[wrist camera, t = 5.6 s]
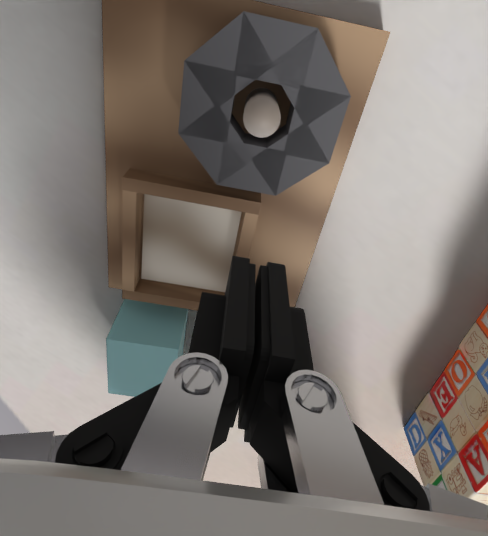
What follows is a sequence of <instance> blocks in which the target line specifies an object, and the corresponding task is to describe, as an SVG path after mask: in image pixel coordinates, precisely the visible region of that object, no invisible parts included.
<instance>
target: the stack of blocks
mask: <svg viewBox="0 0 488 536" xmlns="http://www.w3.org/2000/svg"><path fill="white" fill-rule="evenodd" d="M404 431H405V434H406V436H407V439H408V442H409V445H410V448H411V451H412V453H413V456H414V459H415V463H416V465H417V468H418V471H419V474H420V477H421V479H422V482H423V485H424V487H425V486H426V485H427V484H428V483H429V484H432V485H435V486H437V487H440V488H443V489H445V490H448V491H451V492H453V493H456V494H459V495H461V496H464V497H467V498H469V499H472V500H475V501H478V502H480V503H483V504H486V505H488V304H487V306H486V307H485V309H484V310H483V312H482V313H481V315H480V316H479V317H478V319H477V321H476V322H475V323H474V325H473V326H472V327H471V329H470V330H469V332H468V333H467V335H466V336H465V337H464V339H463V340H462V342H461V343H460V345H459V349H458V350H457V351H456V353H455V354H454V356H453V357H452V359H451V360H450V362H449V363H448V365H447V366H446V368H445V369H444V372H443V373H442V374H441V376H440V377H439V378H438V380H437V381H436V383H435V384H434V386H433V387H432V389H431V391H430V392H428V393H427V395H426V396H425V398H424V399H423V401H422V402H421V404H420V405H419V406H418V408H417V409H416V412H414V414H413V415H412V417H411V418H410V420H409V421H408V423H407V424H406V425H405V427H404Z"/></svg>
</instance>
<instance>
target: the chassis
mask: <svg viewBox="0 0 488 536" xmlns="http://www.w3.org/2000/svg"><path fill="white" fill-rule="evenodd" d="M243 11H245V12H250V13H254V14H258V15H263V16H267V17H272V18H276V19H280V20H285V21H289V22H293V23H298V24H302V25H307V26H311V27H316V28H318V29H319V31H320V33H321V35H322V37H323V39H324V41H325V43H326V46H327V48H328V50H329V52H330V54H331V56H332V58H333V60H334V62H335V64H336V66H337V68H338V70H339V72H340V75H341V77H342V79H343V81H344V83H345V85H346V87H347V89H348V91H349V93H350V95H351V98H350V101H349V104H348V107H347V110H346V113H345V116H344V119H343V123H342V126H341V129H340V132H339V135H338V138H337V141H336V144H335V147H334V150H333V153H332V157H331V160H330V163H329V164H327V165H326V166H324V167H322V168H321V169H319V170H317V171H316V172H314V173H312V174H311V175H309V176H308V177H306V178H304V179H303V180H301V181H299V182H298V183H296V184H294V185H293V186H291V187H289V188H288V189H286V190H284V191H283V192H281V193H280V194H278V195H276V196H274V195H268V194H263V193H258V192H253V191H247V190H242V189H237V188H231V187H226V186H221V185H217V184H216V183H215V182H214V180H213V179H212V178H211V176H210V175H209V174H208V172H207V171H206V170H205V168H204V167H203V166H202V164H201V163H200V162H199V160H198V159H197V158H196V156H195V155H194V154H193V152H192V151H191V150H190V148H189V147H188V146H187V144H186V143H185V142H184V140H183V139H182V138H181V136H180V135H179V134H178V129H179V117H180V106H181V94H182V82H183V70H184V60H186V59H187V58H188V57H189V56H190V55H192V54H193V53H194V52H195V51H196V50H198V49H199V48H200V47H201V46H202V45H204V44H205V43H206V42H207V41H208V40H210V39H211V38H212V37H213V36H214V35H216V34H217V33H218V32H219V31H220V30H222V29H223V28H224V27H225V26H226V25H228V24H229V23H230V22H231V21H233V20H234V19H235V18H236V17H237V16H239V15H240V14H241V13H242V12H243ZM102 27H103V70H104V112H105V154H106V196H107V238H108V280H109V287H110V288H116V289H122V299H129V300H135V301H141V302H147V303H154V304H160V305H166V306H172V307H179V308H185V309H191V310H197V311H198V308H199V303H200V298H201V294H202V292H207V293H213V294H219V295H225V291H226V286H227V281H228V276H229V271H230V266H231V261H232V257H233V256H238V257H244V258H249V259H250V263H252V264H256V273H255V283H256V279H257V275H258V271H259V268H260V265H263V266H266V265H267V262H272V263H277V264H283V265H285V268H286V277H287V286H288V295H289V304H290V307H295V305H296V302H297V299H298V296H299V293H300V290H301V287H302V285H303V282H304V279H305V276H306V273H307V270H308V267H309V264H310V262H311V259H312V256H313V253H314V250H315V247H316V244H317V241H318V239H319V236H320V233H321V230H322V227H323V224H324V221H325V218H326V216H327V213H328V210H329V207H330V204H331V201H332V198H333V195H334V193H335V190H336V187H337V184H338V181H339V178H340V175H341V172H342V170H343V167H344V164H345V161H346V158H347V155H348V152H349V149H350V147H351V144H352V141H353V138H354V135H355V132H356V129H357V126H358V124H359V121H360V118H361V115H362V112H363V109H364V106H365V103H366V101H367V98H368V95H369V92H370V89H371V86H372V83H373V80H374V78H375V75H376V72H377V69H378V66H379V63H380V60H381V57H382V55H383V52H384V49H385V46H386V43H387V40H388V37H389V34H390V32H388V31H384V30H379V29H375V28H371V27H366V26H362V25H358V24H353V23H349V22H345V21H340V20H336V19H332V18H328V17H323V16H319V15H315V14H310V13H306V12H302V11H297V10H293V9H289V8H284V7H280V6H276V5H271V4H267V3H263V2H258V1H254V0H102ZM290 104H291V101H290V100H289V98H288V96H287V94H286V93H285V91H284V89H283V87H282V85H278V84H274V83H269V82H264V81H260V80H254V81H253V82H252V83H250V84H249V85H248V86H246V87H245V88H244V89H242V90H241V91H240V92H238V93H237V94H236V95H235V98H234V104H233V110H232V114H233V116H234V117H235V119H236V120H237V122H238V123H239V125H240V126H241V128H242V129H243V131H244V132H245V133H247V134H251V135H253V136H255V137H259V138H264V137H268V136H270V135H272V134H273V133H274V132H275V131H277V130H278V129H280V128H281V127H283V126H284V125H285V124H286V121H287V117H288V112H289V108H290Z"/></svg>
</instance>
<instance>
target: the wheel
mask: <svg viewBox="0 0 488 536" xmlns="http://www.w3.org/2000/svg"><path fill="white" fill-rule="evenodd" d="M254 80H260V81H264V82H269V83H274V84H278V85H282V87H283V89H284V91H285V93H286V94H287V96H288V98H289V100H290V101H291V104H290V108H289V112H288V117H287V121H286V124H285V125H284V126H283V127H281V128H280V129H278V130H277V131H275V132H274V133H273V134H272V135H270V136H268V137H264V138H259V137H255V136H253V135H251V134H247V133H245V132H244V131H243V129H242V128H241V126H240V125H239V123H238V122H237V120H236V119H235V117H234V116H233V114H232V110H233V104H234V98H235V95H236V94H237V93H238V92H240V91H241V90H242V89H244V88H245V87H246V86H248V85H249V84H250V83H252V82H253V81H254ZM350 98H351V95H350V93H349V91H348V89H347V87H346V85H345V83H344V81H343V79H342V77H341V75H340V72H339V70H338V68H337V66H336V64H335V62H334V60H333V58H332V56H331V54H330V52H329V50H328V48H327V46H326V43H325V41H324V39H323V37H322V35H321V33H320V31H319V29H318V28H316V27H311V26H307V25H302V24H298V23H293V22H289V21H285V20H280V19H276V18H272V17H267V16H263V15H258V14H254V13H250V12H245V11H243V12H242V13H241V14H240V15H239V16H237V17H236V18H235V19H234V20H233V21H231V22H230V23H229V24H228V25H226V26H225V27H224V28H223V29H222V30H220V31H219V32H218V33H217V34H216V35H214V36H213V37H212V38H211V39H210V40H208V41H207V42H206V43H205V44H204V45H202V46H201V47H200V48H199V49H198V50H196V51H195V52H194V53H193V54H192V55H190V56H189V57H188V58H187V59H186V60H184V70H183V82H182V94H181V106H180V117H179V129H178V134H179V135H180V136H181V138H182V139H183V140H184V142H185V143H186V144H187V146H188V147H189V148H190V150H191V151H192V152H193V154H194V155H195V156H196V158H197V159H198V160H199V162H200V163H201V164H202V166H203V167H204V168H205V170H206V171H207V172H208V174H209V175H210V176H211V178H212V179H213V180H214V182H215V183H216V184H217V185H221V186H226V187H231V188H237V189H242V190H247V191H253V192H258V193H263V194H268V195H274V196H276V195H278V194H280V193H281V192H283V191H284V190H286V189H288V188H289V187H291V186H293V185H294V184H296V183H298V182H299V181H301V180H303V179H304V178H306V177H308V176H309V175H311V174H312V173H314V172H316V171H317V170H319V169H321V168H322V167H324V166H326V165H327V164H329V163H330V160H331V157H332V153H333V150H334V147H335V144H336V141H337V138H338V135H339V132H340V129H341V126H342V123H343V119H344V116H345V113H346V110H347V107H348V104H349V101H350Z"/></svg>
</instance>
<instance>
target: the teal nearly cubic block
mask: <svg viewBox="0 0 488 536" xmlns="http://www.w3.org/2000/svg"><path fill="white" fill-rule="evenodd" d="M187 316H188V309H185V308H179V307H172V306H166V305H160V304H154V303H147V302H141V301H135V300H129V299H124V301H123V304H122V306H121V308H120V310H119V312H118V315H117V317H116V319H115V321H114V323H113V325H112V328H111V330H110V332H109V334H108V336H107V338H106V346H107V371H108V393H112V394H119V395H127V396H134V397H136V396H138V395H139V394H141V393H143V392H145V391H147V390H149V389H151V388H152V387H154V386H156V385H158V384H160V383H162V381H163V379H164V377H165V375H166V373H167V371H168V369H169V367H170V365H171V364H172V363H173V361H174V360H176V359H177V358H178V357H180V356H182V355H183V347H184V340H185V332H186V324H187Z"/></svg>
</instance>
